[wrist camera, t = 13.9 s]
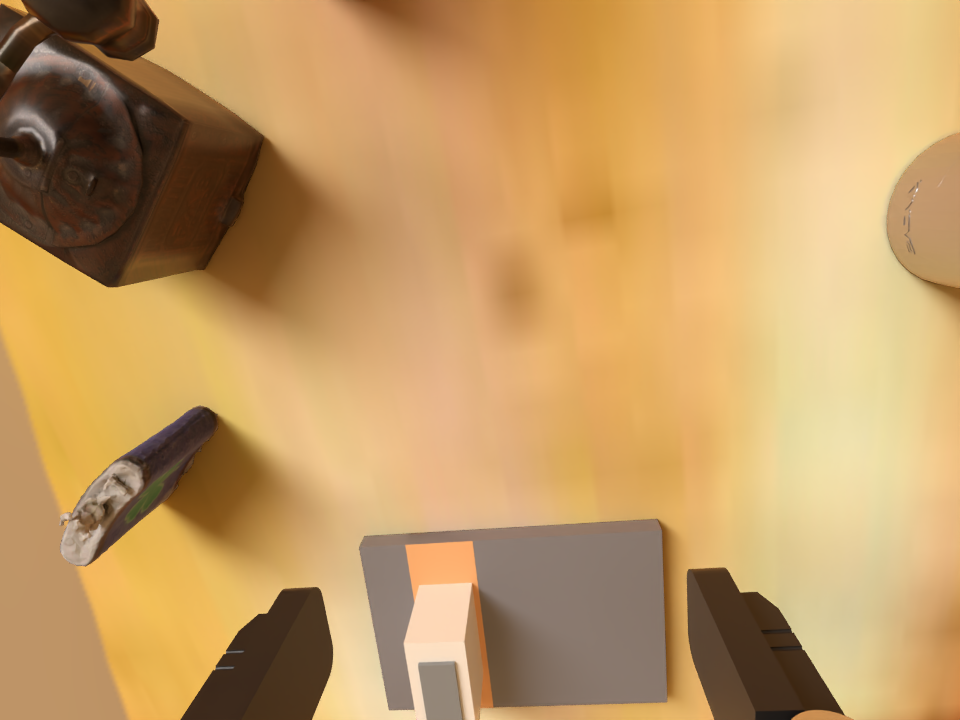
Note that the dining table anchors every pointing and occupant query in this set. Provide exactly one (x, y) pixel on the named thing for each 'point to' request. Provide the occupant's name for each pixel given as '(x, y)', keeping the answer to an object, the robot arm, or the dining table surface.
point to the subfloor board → (534, 609)
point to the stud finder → (444, 653)
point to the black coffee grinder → (112, 144)
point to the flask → (134, 486)
